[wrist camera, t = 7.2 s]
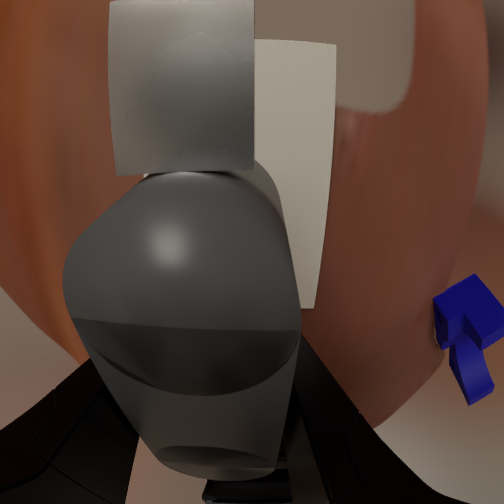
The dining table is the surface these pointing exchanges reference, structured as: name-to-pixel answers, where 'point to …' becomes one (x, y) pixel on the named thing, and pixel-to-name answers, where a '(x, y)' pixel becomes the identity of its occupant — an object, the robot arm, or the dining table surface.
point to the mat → (297, 143)
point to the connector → (190, 246)
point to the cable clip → (469, 333)
